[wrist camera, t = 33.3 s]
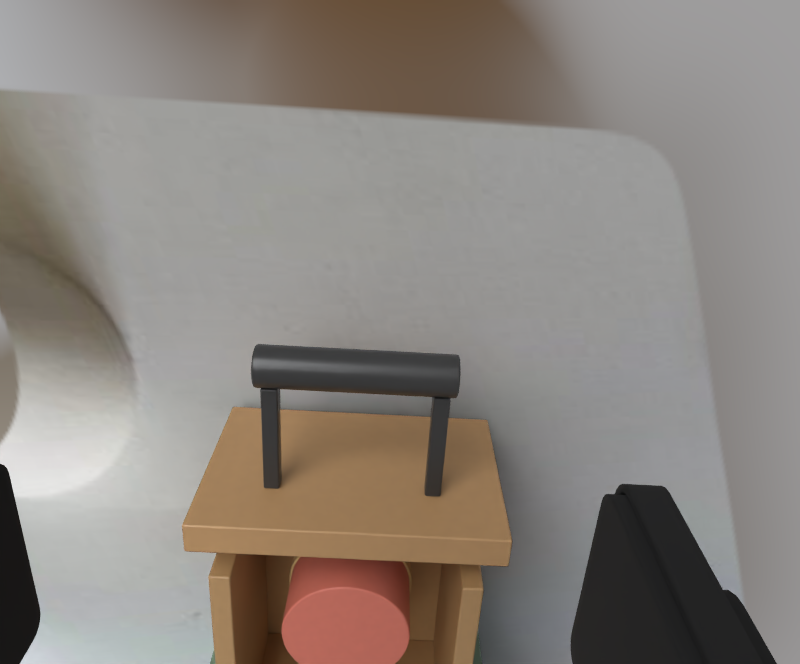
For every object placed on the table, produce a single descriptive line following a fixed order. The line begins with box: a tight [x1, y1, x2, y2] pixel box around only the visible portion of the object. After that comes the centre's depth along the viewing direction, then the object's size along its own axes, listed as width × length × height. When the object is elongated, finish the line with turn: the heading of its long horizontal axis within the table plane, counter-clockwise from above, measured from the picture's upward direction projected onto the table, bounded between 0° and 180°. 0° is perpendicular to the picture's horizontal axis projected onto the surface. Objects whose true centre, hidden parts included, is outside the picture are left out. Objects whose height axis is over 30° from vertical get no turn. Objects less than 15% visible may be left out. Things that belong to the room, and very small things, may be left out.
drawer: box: [182, 344, 512, 664], centre depth 29 cm, size 19×11×8 cm, turn 177°
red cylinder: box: [281, 556, 412, 664], centre depth 29 cm, size 5×5×6 cm
